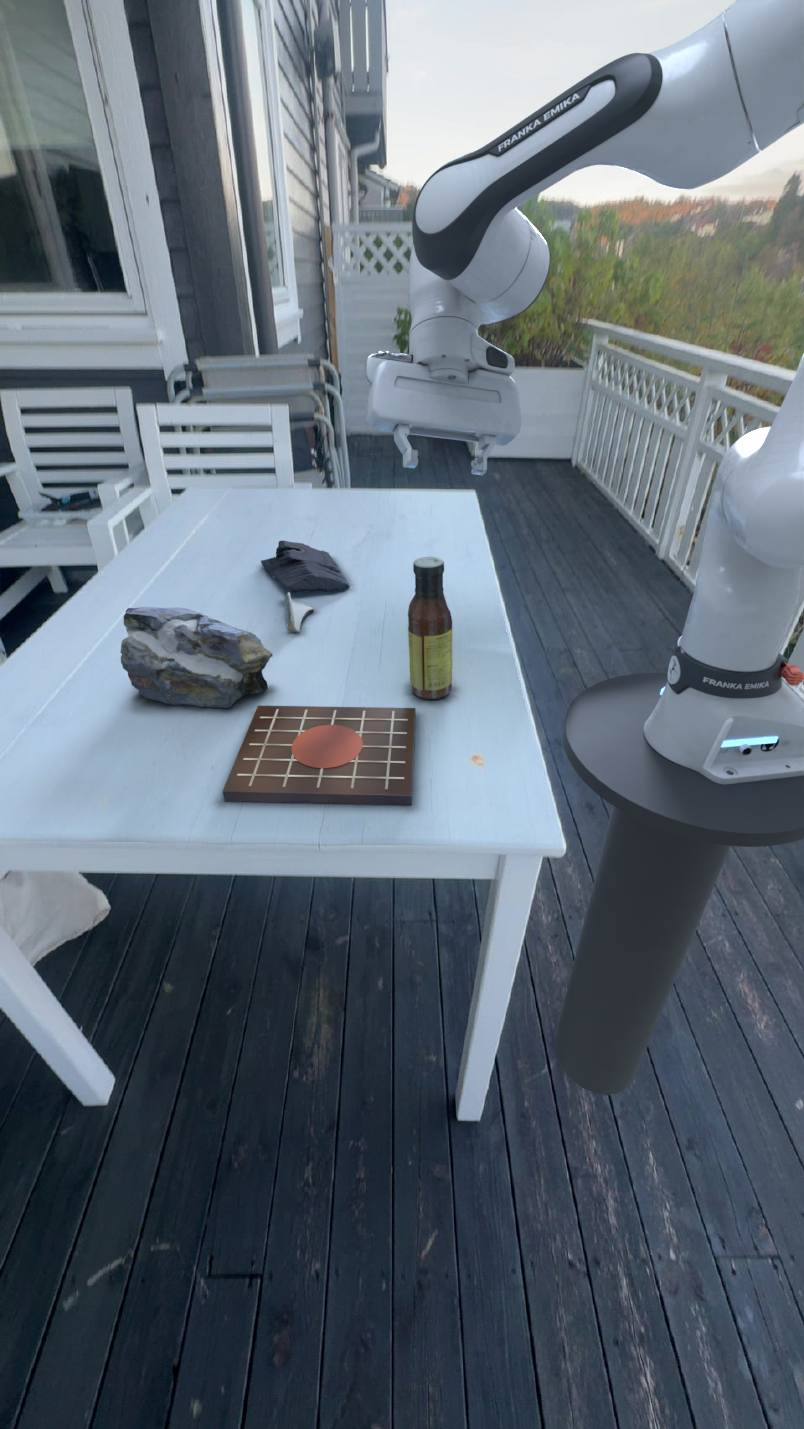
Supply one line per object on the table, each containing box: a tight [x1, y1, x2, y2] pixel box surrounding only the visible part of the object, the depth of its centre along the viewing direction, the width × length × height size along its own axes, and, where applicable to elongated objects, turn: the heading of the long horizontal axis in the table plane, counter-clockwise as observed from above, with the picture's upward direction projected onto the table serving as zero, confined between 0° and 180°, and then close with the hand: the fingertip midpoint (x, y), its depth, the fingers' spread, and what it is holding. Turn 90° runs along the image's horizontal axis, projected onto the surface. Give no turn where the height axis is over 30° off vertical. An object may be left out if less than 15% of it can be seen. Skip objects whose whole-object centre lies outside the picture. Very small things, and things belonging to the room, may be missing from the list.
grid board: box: [222, 704, 416, 806], centre depth 80 cm, size 22×18×2 cm
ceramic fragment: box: [283, 591, 314, 634], centre depth 113 cm, size 14×5×4 cm, turn 11°
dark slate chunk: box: [260, 540, 351, 594], centre depth 128 cm, size 15×22×5 cm
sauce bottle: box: [407, 556, 454, 700], centre depth 87 cm, size 7×6×20 cm
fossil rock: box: [120, 606, 273, 709], centre depth 89 cm, size 20×9×15 cm, turn 76°
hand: (445, 470), depth 80 cm, fingers open, 8 cm apart
